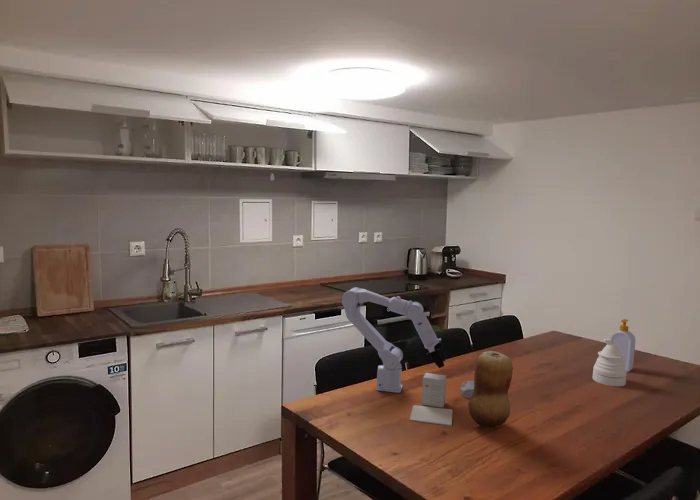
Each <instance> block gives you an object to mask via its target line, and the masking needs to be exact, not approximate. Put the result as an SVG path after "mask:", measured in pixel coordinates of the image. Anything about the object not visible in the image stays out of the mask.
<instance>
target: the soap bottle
mask: <svg viewBox="0 0 700 500" xmlns="http://www.w3.org/2000/svg"><path fill="white" fill-rule="evenodd" d="M628 321H629V319H626V318H624V319H621V320H620V323H622V324H621V325H619V330H618V331H616V332H614V333H612V334H611V336H610V338H609V339H611V342H610V343H614V344H616V345H617V347H618V348H619V350H620V352H621V354H622V355H623V356H624V358H623V361H624V363H625V369H626V371H627V373H629V372H630V371H631V370H633V369H634V362H635V361H634V359H635V349H636V336H635V335H634V334H633V332H631V331H629V328H630V327H629V325H628V326H627V322H628Z"/></svg>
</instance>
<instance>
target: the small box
mask: <svg viewBox="0 0 700 500" xmlns="http://www.w3.org/2000/svg"><path fill="white" fill-rule="evenodd" d="M421 389H422V390H421V406H427V407H434V408H442V409H444V406H445V404H446V398H447V397H446V395H447V393H446V392H447V391H446V390H447V375H445V374H438V373H430V372H425V373H424V375H423V377H422V388H421Z"/></svg>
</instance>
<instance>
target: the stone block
mask: <svg viewBox="0 0 700 500" xmlns="http://www.w3.org/2000/svg"><path fill="white" fill-rule="evenodd" d="M473 391H474V380H469V381H463V382H462V384H461V387H460V392H461V393H460V394H461V396H462V397H464V398H465V399H468V400H470V397H471V395H472V393H473Z"/></svg>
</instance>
